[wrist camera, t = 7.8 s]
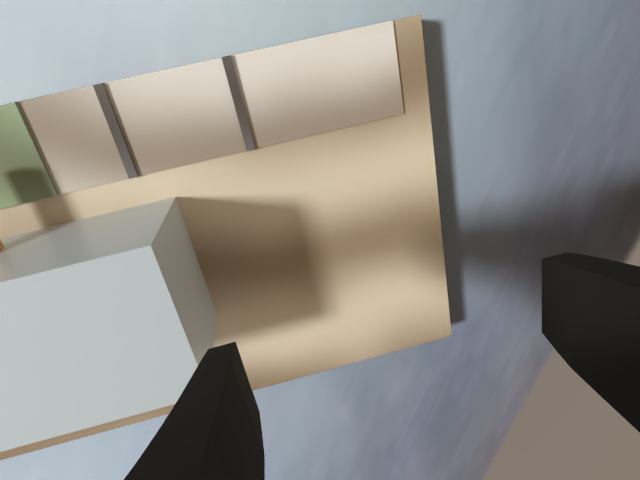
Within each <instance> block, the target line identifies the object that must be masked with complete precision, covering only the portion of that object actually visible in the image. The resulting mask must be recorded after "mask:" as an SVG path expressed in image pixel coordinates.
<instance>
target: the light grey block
mask: <svg viewBox="0 0 640 480" xmlns="http://www.w3.org/2000/svg"><path fill="white" fill-rule="evenodd" d="M216 322H217V314H216V311H215V308H214V305H213V302H212V300H211V297H210V294H209V291H208V288H207V285H206V282H205V279H204V277H203V274H202V271H201V268H200V265H199V262H198V259H197V257H196V254H195V251H194V248H193V245H192V242H191V239H190V236H189V234H188V231H187V228H186V225H185V222H184V219H183V216H182V214H181V211H180V208H179V205H178V202H177V199H176V197H172V198H168V199H164V200H160V201H155V202H151V203H147V204H143V205H139V206H134V207H130V208H126V209H122V210H118V211H114V212H109V213H105V214H101V215H97V216H93V217H88V218H84V219H80V220H76V221H72V222H67V223H63V224H59V225H55V226H51V227H47V228H42V229H38V230H34V231H30V232H26V233H21V234H17V235H13V236H9V237H5V238H1V239H0V452H2V451H6V450H10V449H13V448H17V447H20V446H24V445H28V444H31V443H35V442H39V441H42V440H46V439H50V438H53V437H57V436H61V435H64V434H68V433H71V432H75V431H79V430H82V429H86V428H90V427H93V426H97V425H101V424H104V423H108V422H112V421H115V420H119V419H122V418H126V417H130V416H133V415H137V414H141V413H144V412H148V411H152V410H155V409H159V408H163V407H166V406H170V405H173V404H176V402H177V400H178V399H179V397H180V395H181V394H182V392H183V390H184V389H185V387H186V385H187V384H188V382H189V380H190V379H191V377H192V375H193V373H194V372H195V370H196V368H197V366H198V365H199V363H200V361H201V360H202V358H203V356H204V355H205V353H206V352H207V350H208V349H210V348H214V342H215V332H216Z"/></svg>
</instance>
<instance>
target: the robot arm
mask: <svg viewBox="0 0 640 480" xmlns="http://www.w3.org/2000/svg"><path fill="white" fill-rule="evenodd" d="M542 333H543V334H544V335H545V337H546V338H547V339H548V340H549V342H550V343H551V344H552V346H553V347H554V348H555V349H556V351H557V352H558V353H559V354H560V355H561V357H562V358H563V359H564V360H565V361H566V362H567V364H568V365H569V366H570V367H571V368H572V369H573V370H574V371H575V372H576V373H577V374H578V375H579V376H580V377H581V378H582V379H583V380H585V382H587V383H588V384H589V385H590V386H591V387H592V388H593V389H594V390H595V391H596V392H597V393H598V394H599V395H600V396H601V397H602V398H603V399H604V400H606V401H607V402H608V403H609V404H610V405H611V406H612V407H613V408H614V409H615V410H616V411H617V412H618V413H620V414H621V415H622V416H623V417H624V418H625V419H626V420H627V421H628V422H629V423H630V424H631V425H632V426H633V427H635V428H636V429H637V430H638V431H639V432H640V267H639V266H634V265H630V264H625V263H621V262H616V261H612V260H607V259H602V258H597V257H592V256H587V255H581V254H574V253H563V254H559V255H555V256H552V257H548V258H544V259H542ZM124 480H264V448H263V439H262V430H261V422H260V413H259V410H258V407H257V404H256V401H255V398H254V395H253V392H252V389H251V386H250V383H249V380H248V377H247V374H246V371H245V368H244V365H243V362H242V359H241V356H240V353H239V350H238V347H237V344H236V342H232V343H228V344H225V345H221V346H217V347H214V348H210V349H208V350H207V352H206V353H205V355H204V356H203V358H202V360H201V361H200V363H199V365H198V366H197V368H196V370H195V372H194V373H193V375H192V377H191V379H190V380H189V382H188V384H187V385H186V387H185V389H184V390H183V392H182V394H181V395H180V397H179V399H178V400H177V402H176V404H175V405H174V407H173V408H172V410H171V412H170V413H169V415H168V416H167V418H166V420H165V421H164V423H163V424H162V426H161V428H160V429H159V431H158V432H157V434H156V435H155V436H154V438H153V439H152V441H151V442H150V444H149V445H148V447H147V448H146V450H145V451H144V452H143V454H142V455H141V457H140V458H139V460H138V461H137V463H136V464H135V465H134V467H133V468H132V469H131V471H130V472H129V473H128V475H127V476H126V477H125V479H124Z"/></svg>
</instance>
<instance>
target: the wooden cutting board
mask: <svg viewBox="0 0 640 480" xmlns="http://www.w3.org/2000/svg"><path fill="white" fill-rule="evenodd" d="M172 197H176V199H177V202H178V205H179V208H180V211H181V214H182V216H183V219H184V222H185V225H186V228H187V231H188V234H189V236H190V239H191V242H192V245H193V248H194V251H195V254H196V257H197V259H198V262H199V265H200V268H201V271H202V274H203V277H204V279H205V282H206V285H207V288H208V291H209V294H210V297H211V300H212V302H213V305H214V308H215V311H216V314H217V322H216V332H215V342H214V347H217V346H221V345H225V344H228V343H232V342H236V344H237V347H238V350H239V353H240V356H241V359H242V362H243V365H244V368H245V371H246V374H247V377H248V380H249V383H250V386H251V389H252V391H253V390H256V389H260V388H264V387H267V386H271V385H275V384H278V383H282V382H285V381H289V380H293V379H296V378H300V377H304V376H307V375H311V374H314V373H318V372H322V371H325V370H329V369H333V368H336V367H340V366H343V365H347V364H351V363H354V362H358V361H362V360H365V359H369V358H372V357H376V356H380V355H383V354H387V353H391V352H394V351H398V350H401V349H405V348H409V347H412V346H416V345H420V344H423V343H427V342H430V341H434V340H438V339H441V338H445V337H449V336H452V334H451V324H450V313H449V303H448V292H447V282H446V271H445V261H444V250H443V240H442V230H441V219H440V209H439V198H438V188H437V177H436V167H435V157H434V146H433V136H432V125H431V115H430V104H429V94H428V83H427V73H426V63H425V52H424V42H423V31H422V21H421V15H416V16H411V17H407V18H402V19H398V20H393V21H388V22H383V23H379V24H374V25H369V26H365V27H360V28H356V29H351V30H346V31H342V32H337V33H333V34H328V35H323V36H319V37H314V38H309V39H305V40H300V41H296V42H291V43H286V44H282V45H277V46H273V47H268V48H263V49H259V50H254V51H250V52H245V53H240V54H236V55H231V56H226V57H221V58H217V59H213V60H208V61H203V62H199V63H194V64H190V65H185V66H180V67H176V68H171V69H166V70H162V71H157V72H153V73H148V74H143V75H139V76H134V77H130V78H125V79H120V80H116V81H111V82H106V83H101V84H97V85H93V86H88V87H83V88H79V89H74V90H70V91H65V92H60V93H56V94H51V95H47V96H42V97H37V98H33V99H28V100H23V101H19V102H14V103H9V104H5V105H0V239H1V238H5V237H9V236H13V235H17V234H21V233H26V232H30V231H34V230H38V229H42V228H47V227H51V226H55V225H59V224H63V223H67V222H72V221H76V220H80V219H84V218H88V217H93V216H97V215H101V214H105V213H109V212H114V211H118V210H122V209H126V208H130V207H134V206H139V205H143V204H147V203H151V202H155V201H160V200H164V199H168V198H172ZM174 405H175V404H173V405H170V406H166V407H163V408H159V409H155V410H152V411H148V412H144V413H141V414H137V415H133V416H130V417H126V418H122V419H119V420H115V421H112V422H108V423H104V424H101V425H97V426H93V427H90V428H86V429H82V430H79V431H75V432H71V433H68V434H64V435H61V436H57V437H53V438H50V439H46V440H42V441H39V442H35V443H31V444H28V445H24V446H20V447H17V448H13V449H10V450H6V451H2V452H0V460H3V459H6V458H10V457H14V456H17V455H21V454H25V453H28V452H32V451H35V450H39V449H43V448H46V447H50V446H54V445H57V444H61V443H64V442H68V441H72V440H75V439H79V438H83V437H86V436H90V435H93V434H97V433H101V432H104V431H108V430H111V429H115V428H119V427H122V426H126V425H130V424H133V423H137V422H140V421H144V420H148V419H151V418H155V417H159V416H162V415H166V414H169V413H170V412H171V410H172V408H173V407H174Z"/></svg>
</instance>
